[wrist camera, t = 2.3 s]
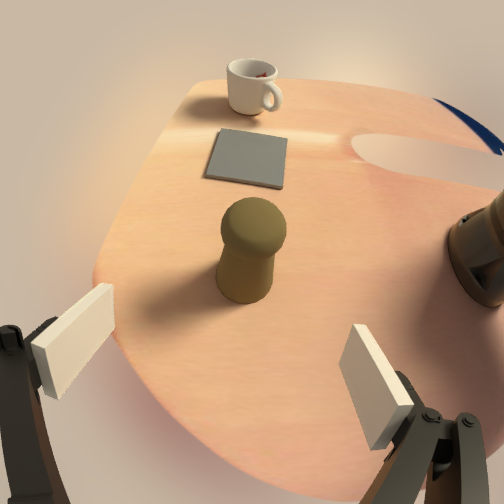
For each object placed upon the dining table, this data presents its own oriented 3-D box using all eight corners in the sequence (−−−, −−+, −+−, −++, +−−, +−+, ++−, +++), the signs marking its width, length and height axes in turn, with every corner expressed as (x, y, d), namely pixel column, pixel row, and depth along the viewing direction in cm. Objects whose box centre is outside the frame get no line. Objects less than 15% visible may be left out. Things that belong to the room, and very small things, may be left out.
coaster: (286, 141, 43) (287, 138, 43) (282, 189, 38) (282, 186, 38) (221, 131, 43) (221, 128, 43) (205, 177, 38) (205, 174, 38)
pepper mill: (214, 252, 33) (214, 186, 23) (269, 250, 34) (288, 185, 24) (217, 305, 30) (216, 253, 21) (276, 302, 31) (302, 250, 21)
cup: (292, 119, 46) (301, 80, 40) (256, 134, 43) (263, 91, 36) (250, 91, 50) (255, 54, 43) (215, 103, 47) (216, 64, 40)
